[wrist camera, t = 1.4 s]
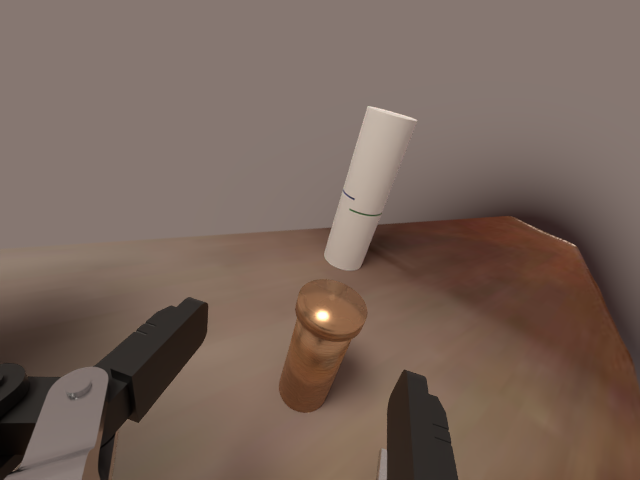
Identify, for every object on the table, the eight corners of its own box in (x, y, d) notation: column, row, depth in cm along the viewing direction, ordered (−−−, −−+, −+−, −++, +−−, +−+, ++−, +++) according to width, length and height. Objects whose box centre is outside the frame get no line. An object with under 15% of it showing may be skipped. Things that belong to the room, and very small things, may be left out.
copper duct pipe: (265, 400, 27) (286, 311, 21) (288, 353, 32) (311, 271, 26) (321, 427, 26) (360, 343, 20) (336, 375, 31) (372, 294, 25)
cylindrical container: (342, 244, 56) (386, 109, 43) (369, 264, 52) (426, 122, 39) (316, 252, 51) (357, 103, 39) (343, 275, 47) (399, 118, 35)
